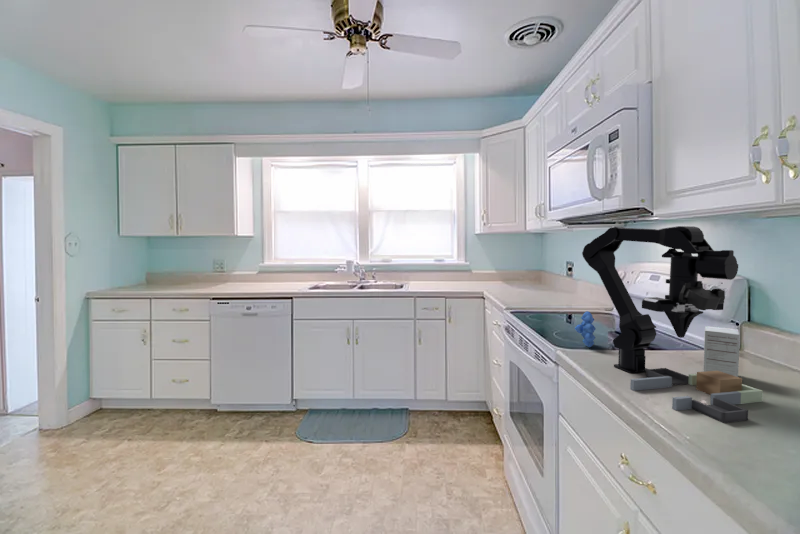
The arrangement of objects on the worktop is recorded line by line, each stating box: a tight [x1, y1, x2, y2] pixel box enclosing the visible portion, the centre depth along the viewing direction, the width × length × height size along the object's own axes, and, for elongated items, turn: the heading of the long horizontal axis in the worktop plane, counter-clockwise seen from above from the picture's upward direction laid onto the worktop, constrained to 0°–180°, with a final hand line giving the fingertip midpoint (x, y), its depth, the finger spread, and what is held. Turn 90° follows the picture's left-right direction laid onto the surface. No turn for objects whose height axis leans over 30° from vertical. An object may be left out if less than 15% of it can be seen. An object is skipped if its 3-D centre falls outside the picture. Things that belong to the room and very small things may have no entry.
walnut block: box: [695, 371, 743, 396], centre depth 96 cm, size 6×6×4 cm
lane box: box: [629, 367, 764, 424], centre depth 95 cm, size 27×23×2 cm
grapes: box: [574, 310, 596, 348], centre depth 141 cm, size 12×7×12 cm, turn 165°
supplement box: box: [702, 325, 741, 377], centre depth 109 cm, size 7×7×13 cm
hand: (680, 337), depth 103 cm, fingers closed
